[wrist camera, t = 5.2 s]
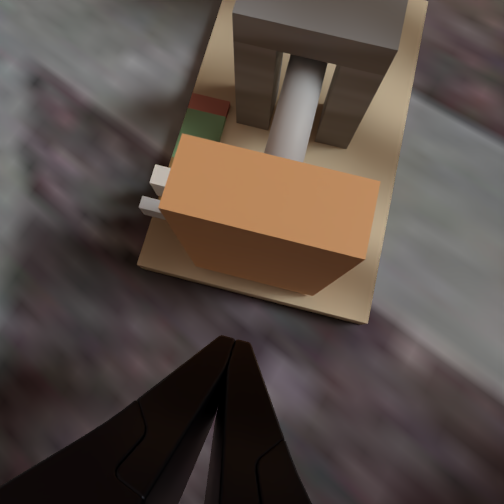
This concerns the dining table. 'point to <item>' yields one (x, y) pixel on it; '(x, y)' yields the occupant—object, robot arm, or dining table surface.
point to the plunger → (270, 200)
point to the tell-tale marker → (159, 179)
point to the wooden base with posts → (324, 125)
